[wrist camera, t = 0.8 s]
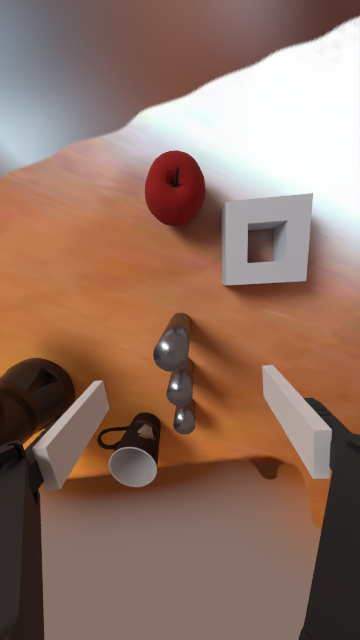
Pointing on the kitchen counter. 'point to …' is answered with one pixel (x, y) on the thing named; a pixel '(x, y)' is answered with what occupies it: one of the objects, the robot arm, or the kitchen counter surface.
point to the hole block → (289, 239)
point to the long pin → (174, 344)
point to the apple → (175, 188)
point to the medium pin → (181, 385)
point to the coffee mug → (135, 451)
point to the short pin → (185, 418)
